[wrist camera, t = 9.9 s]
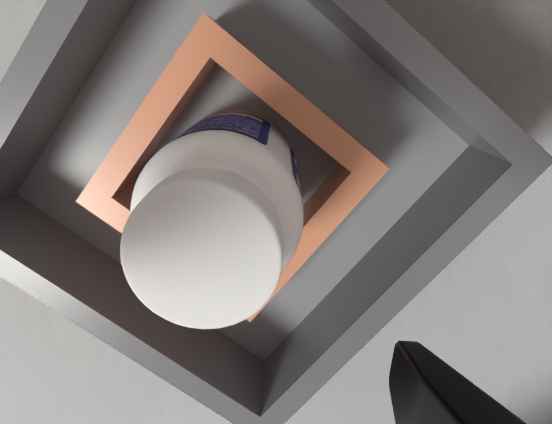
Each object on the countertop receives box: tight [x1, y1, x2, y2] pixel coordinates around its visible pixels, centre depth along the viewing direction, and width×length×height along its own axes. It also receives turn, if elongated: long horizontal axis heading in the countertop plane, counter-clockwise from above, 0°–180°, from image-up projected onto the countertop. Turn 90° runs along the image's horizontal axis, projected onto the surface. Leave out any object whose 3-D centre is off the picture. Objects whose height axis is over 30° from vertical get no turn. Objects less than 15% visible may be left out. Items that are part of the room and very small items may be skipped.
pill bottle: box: [120, 110, 304, 329], centre depth 15 cm, size 5×5×9 cm
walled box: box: [0, 0, 552, 424], centre depth 17 cm, size 16×16×4 cm
